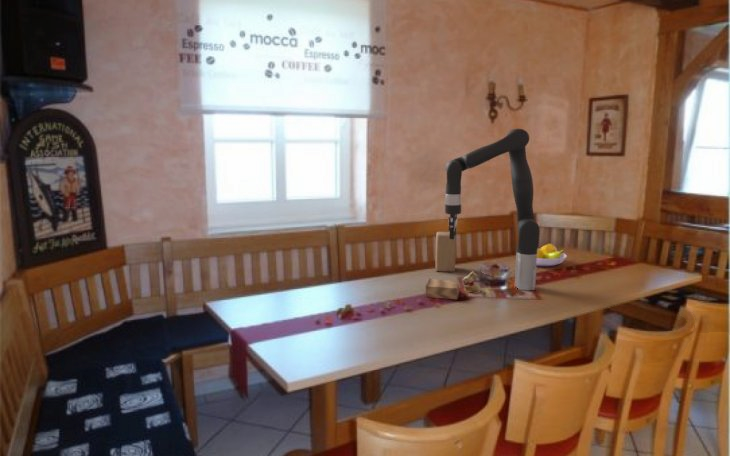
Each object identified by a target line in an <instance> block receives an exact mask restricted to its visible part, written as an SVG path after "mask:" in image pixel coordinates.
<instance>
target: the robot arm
mask: <svg viewBox="0 0 730 456" xmlns="http://www.w3.org/2000/svg"><path fill="white" fill-rule="evenodd" d="M529 141H530V134H529V133H528V132H527V131H526V130H524V129H523V128H513V129H510V131H509V132H508V133H507V134H506V136H504V137H503V138H501V139H499V140H498V141H495V142H493V143H490V144H488V145H487V144H486V145H484V146H481V147H480V148H476V149H474V150H472V151H470V152H468V153H466V154H464V155H463V156H460V157H457V158H454V159H451V160H449V161H448V162H447V163H446V165H445V171H446V183H445V198H444V212H445V214H447V215H449V217H448V220H447V221H448V232H450V239H454V236H456V235H457V226H458V218H459V217H458V215H460V214H461V213H462V177H463V176H462V175H463V172H464V171H467V170H468V169H472V168H473V169H474V168H475V167H478V166H480V165H483V164H485V163H486V162H488V161H490V160H492V159H495V158H496V157H498V156H501V155H504V154H506V153H508V155H509V156H508V157H509V161H510V177H511V186H512V191H513V192H512V193H513V198H514V203H515V207H516V227H517V228H516V230H517V233H518V242H517V246H516V258H515V270H514V272H515V274H514V275H515V276H514V287H515V286H516V287H517V288H518V289H517V288H516V289H517V290H520V291H535V290H536V282H537V278H536V277H537V266H536V260H537V249H538V248H539V242H540V234H541V233H540V232H541V231H540V229H541V228H540V226H539V224H538V223H537V222H536V219H535V214H534V209H533V205H534V181H533V175H532V172H531V168H530V166H529V163H528V160H527V152H526V146H527V145H528V144H529ZM456 237H457V236H456Z"/></svg>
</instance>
